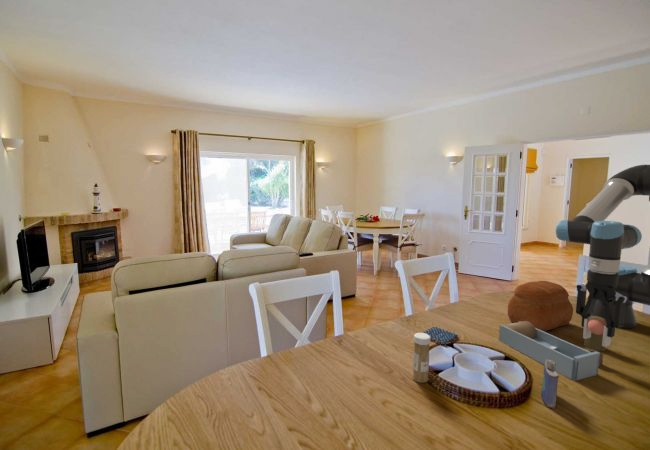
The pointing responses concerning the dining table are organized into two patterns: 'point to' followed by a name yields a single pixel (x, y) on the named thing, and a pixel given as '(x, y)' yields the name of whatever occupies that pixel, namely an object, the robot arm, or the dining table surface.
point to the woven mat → (441, 335)
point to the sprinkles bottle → (421, 357)
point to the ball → (596, 326)
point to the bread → (541, 305)
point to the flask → (549, 384)
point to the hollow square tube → (599, 358)
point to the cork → (595, 339)
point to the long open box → (550, 350)
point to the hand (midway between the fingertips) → (596, 341)
